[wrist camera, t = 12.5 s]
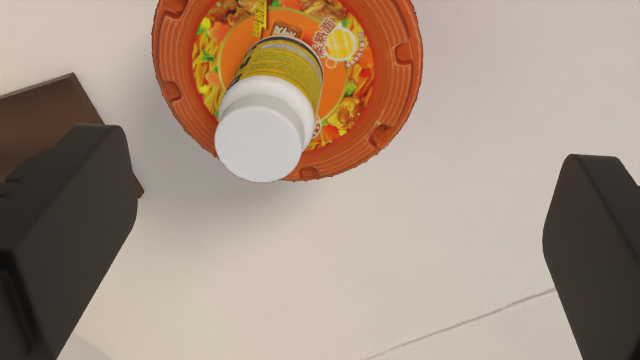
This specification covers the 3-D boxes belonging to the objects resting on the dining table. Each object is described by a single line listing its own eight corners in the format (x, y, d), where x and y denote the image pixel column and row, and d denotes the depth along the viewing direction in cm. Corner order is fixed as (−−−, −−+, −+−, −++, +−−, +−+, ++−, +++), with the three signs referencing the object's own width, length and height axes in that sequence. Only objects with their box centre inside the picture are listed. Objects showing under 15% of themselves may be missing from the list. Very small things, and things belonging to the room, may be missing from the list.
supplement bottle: (246, 25, 31) (209, 87, 24) (331, 41, 31) (318, 108, 24) (238, 103, 34) (202, 180, 27) (316, 118, 34) (301, 199, 27)
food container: (187, -113, 37) (128, -90, 28) (431, -94, 37) (449, -63, 28) (200, 106, 46) (158, 177, 37) (397, 124, 45) (403, 201, 37)
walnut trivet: (-45, 110, 48) (-53, 115, 47) (73, 72, 45) (68, 77, 44) (35, 219, 54) (30, 225, 53) (144, 191, 51) (140, 198, 50)
